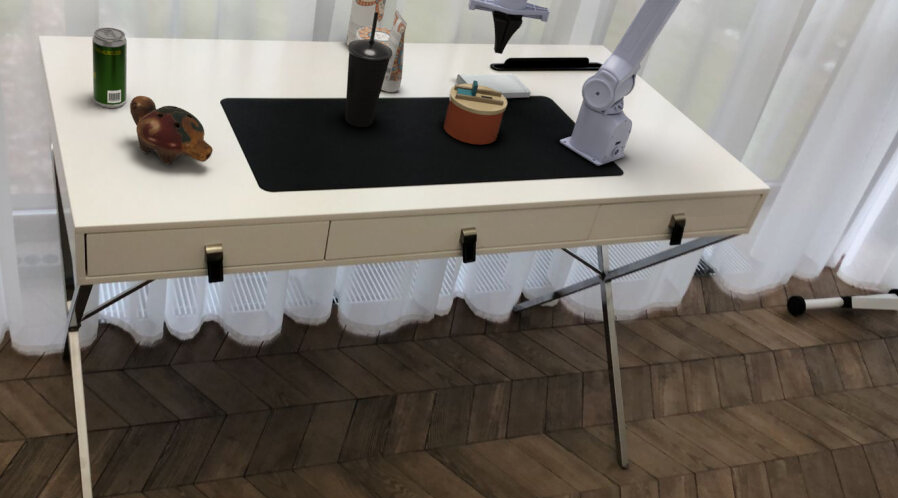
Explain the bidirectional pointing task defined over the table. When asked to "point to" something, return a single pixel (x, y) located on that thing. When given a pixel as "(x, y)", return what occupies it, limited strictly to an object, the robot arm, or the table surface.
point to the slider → (469, 92)
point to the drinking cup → (365, 78)
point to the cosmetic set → (380, 36)
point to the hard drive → (498, 83)
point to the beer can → (109, 67)
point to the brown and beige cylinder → (475, 114)
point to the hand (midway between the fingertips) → (498, 51)
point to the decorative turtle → (168, 131)
